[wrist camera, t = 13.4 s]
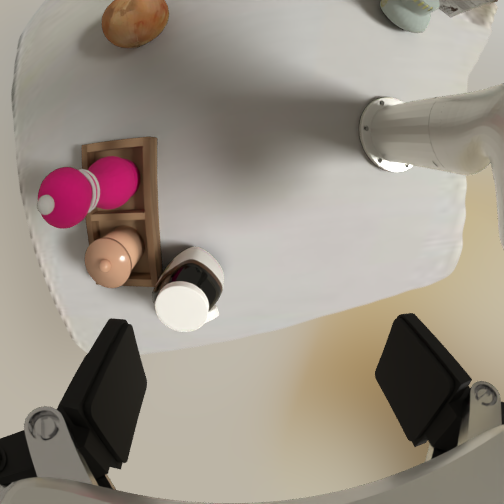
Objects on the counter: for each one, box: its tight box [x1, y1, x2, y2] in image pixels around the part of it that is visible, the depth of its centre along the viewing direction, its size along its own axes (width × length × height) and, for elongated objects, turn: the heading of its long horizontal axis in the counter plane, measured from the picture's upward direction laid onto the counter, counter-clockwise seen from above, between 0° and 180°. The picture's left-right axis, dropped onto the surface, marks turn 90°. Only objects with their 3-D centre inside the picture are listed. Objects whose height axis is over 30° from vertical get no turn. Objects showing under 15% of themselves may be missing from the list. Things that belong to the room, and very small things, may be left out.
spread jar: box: [152, 247, 224, 332], centre depth 39 cm, size 12×11×12 cm
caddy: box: [82, 137, 163, 287], centre depth 38 cm, size 11×22×4 cm, turn 178°
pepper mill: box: [37, 156, 140, 228], centre depth 27 cm, size 7×7×20 cm
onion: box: [102, 0, 169, 48], centre depth 24 cm, size 10×10×10 cm
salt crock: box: [85, 225, 145, 288], centre depth 36 cm, size 7×7×9 cm
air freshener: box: [380, 0, 440, 33], centre depth 24 cm, size 11×8×10 cm
